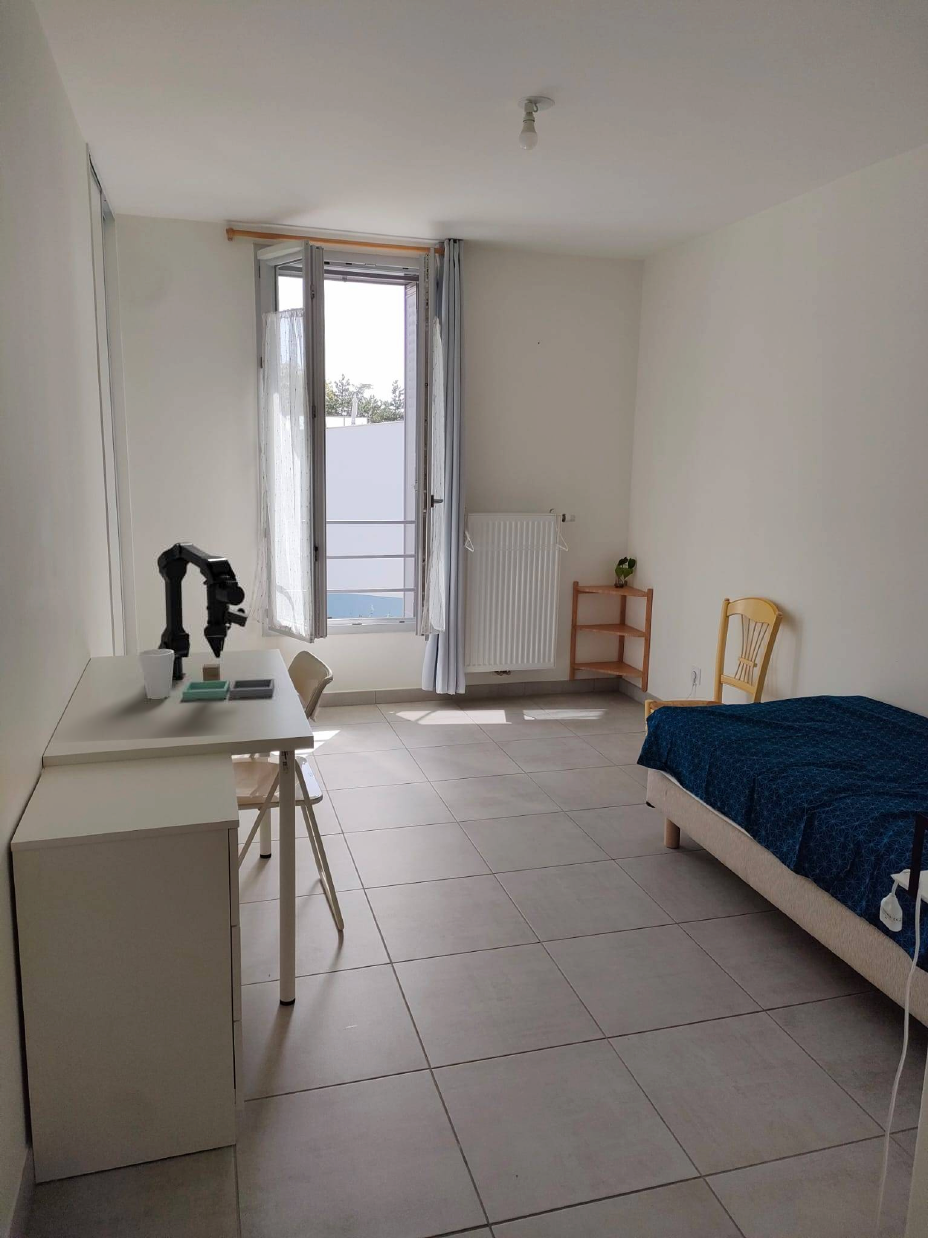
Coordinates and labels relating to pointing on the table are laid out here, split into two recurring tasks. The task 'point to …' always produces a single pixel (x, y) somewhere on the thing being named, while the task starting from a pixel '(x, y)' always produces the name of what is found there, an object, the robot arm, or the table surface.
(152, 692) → the foam cup
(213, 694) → the tray
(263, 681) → the tray
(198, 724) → the table surface
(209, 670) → the walnut block
